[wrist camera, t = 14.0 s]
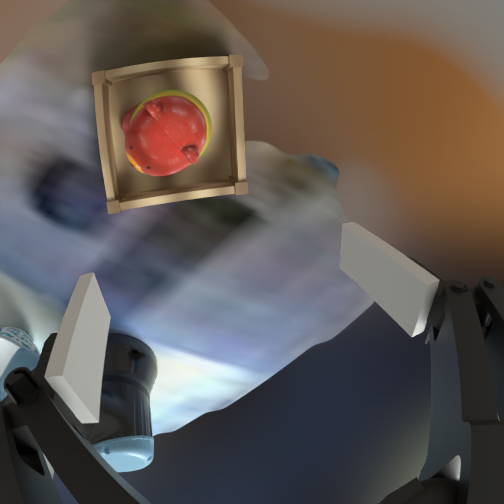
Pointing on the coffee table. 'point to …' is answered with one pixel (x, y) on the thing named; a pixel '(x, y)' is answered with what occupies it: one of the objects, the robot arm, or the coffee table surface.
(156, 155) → the stacking bear
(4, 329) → the chinaware
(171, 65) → the crate
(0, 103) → the coffee table surface
